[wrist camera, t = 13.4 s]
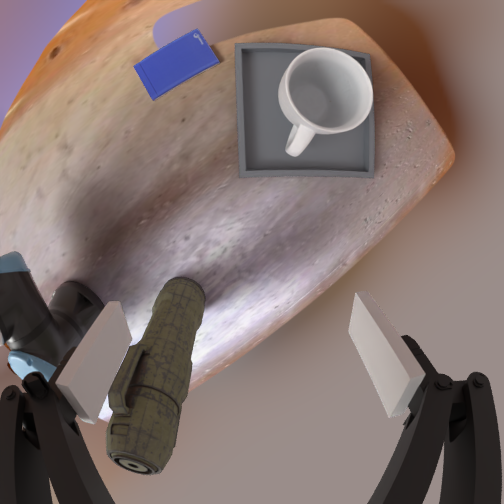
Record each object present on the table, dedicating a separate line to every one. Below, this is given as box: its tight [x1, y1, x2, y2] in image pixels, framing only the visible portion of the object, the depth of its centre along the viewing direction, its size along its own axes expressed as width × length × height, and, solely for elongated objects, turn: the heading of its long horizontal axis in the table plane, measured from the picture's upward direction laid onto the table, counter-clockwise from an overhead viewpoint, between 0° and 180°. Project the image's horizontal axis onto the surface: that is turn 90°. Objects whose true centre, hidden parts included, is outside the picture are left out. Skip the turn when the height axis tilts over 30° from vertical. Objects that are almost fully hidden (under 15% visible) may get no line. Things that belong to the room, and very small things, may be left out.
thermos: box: [106, 277, 205, 475], centre depth 35 cm, size 9×12×35 cm
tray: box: [235, 43, 375, 178], centre depth 38 cm, size 22×22×3 cm
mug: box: [278, 48, 373, 157], centre depth 32 cm, size 15×11×13 cm
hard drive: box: [134, 29, 220, 101], centre depth 35 cm, size 2×8×12 cm
